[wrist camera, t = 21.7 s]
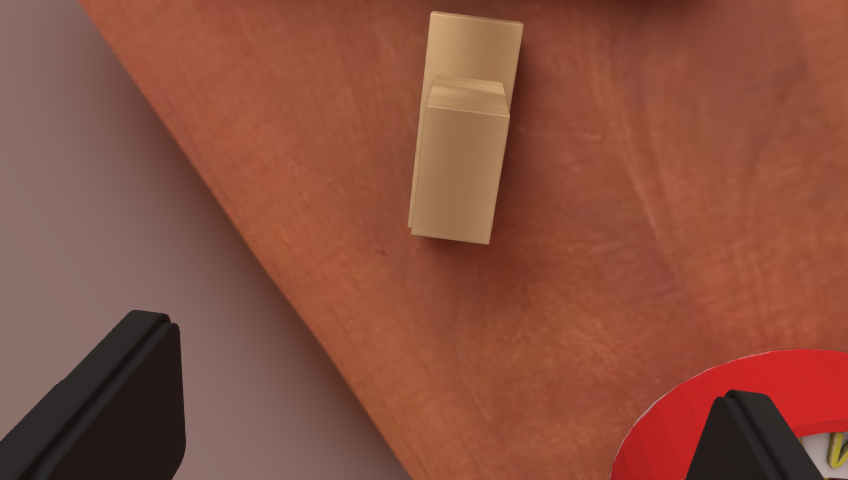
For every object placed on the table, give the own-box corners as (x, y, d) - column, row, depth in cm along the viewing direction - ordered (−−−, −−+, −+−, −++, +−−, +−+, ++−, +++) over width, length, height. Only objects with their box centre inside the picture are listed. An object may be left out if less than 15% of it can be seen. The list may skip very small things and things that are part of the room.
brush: (411, 209, 34) (391, 291, 25) (433, 8, 30) (418, 28, 21) (487, 219, 34) (492, 304, 25) (520, 19, 29) (538, 43, 21)
